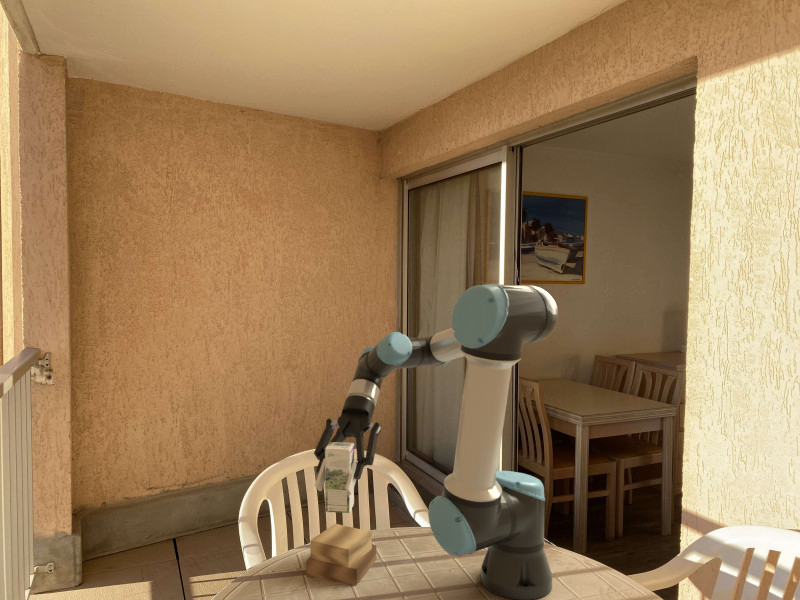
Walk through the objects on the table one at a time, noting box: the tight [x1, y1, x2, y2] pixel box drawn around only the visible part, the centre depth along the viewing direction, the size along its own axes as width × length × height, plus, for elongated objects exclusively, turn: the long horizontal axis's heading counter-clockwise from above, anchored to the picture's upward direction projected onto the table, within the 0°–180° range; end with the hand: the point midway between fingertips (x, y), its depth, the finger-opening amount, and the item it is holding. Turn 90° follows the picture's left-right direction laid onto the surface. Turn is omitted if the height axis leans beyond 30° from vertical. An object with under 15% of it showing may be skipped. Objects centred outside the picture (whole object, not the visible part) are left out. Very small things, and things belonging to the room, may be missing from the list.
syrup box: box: [324, 441, 355, 514], centre depth 128 cm, size 6×6×14 cm
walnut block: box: [305, 544, 377, 586], centre depth 129 cm, size 12×12×4 cm
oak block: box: [309, 523, 373, 568], centre depth 128 cm, size 10×10×4 cm
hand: (333, 489), depth 125 cm, fingers closed on syrup box, 7 cm apart
